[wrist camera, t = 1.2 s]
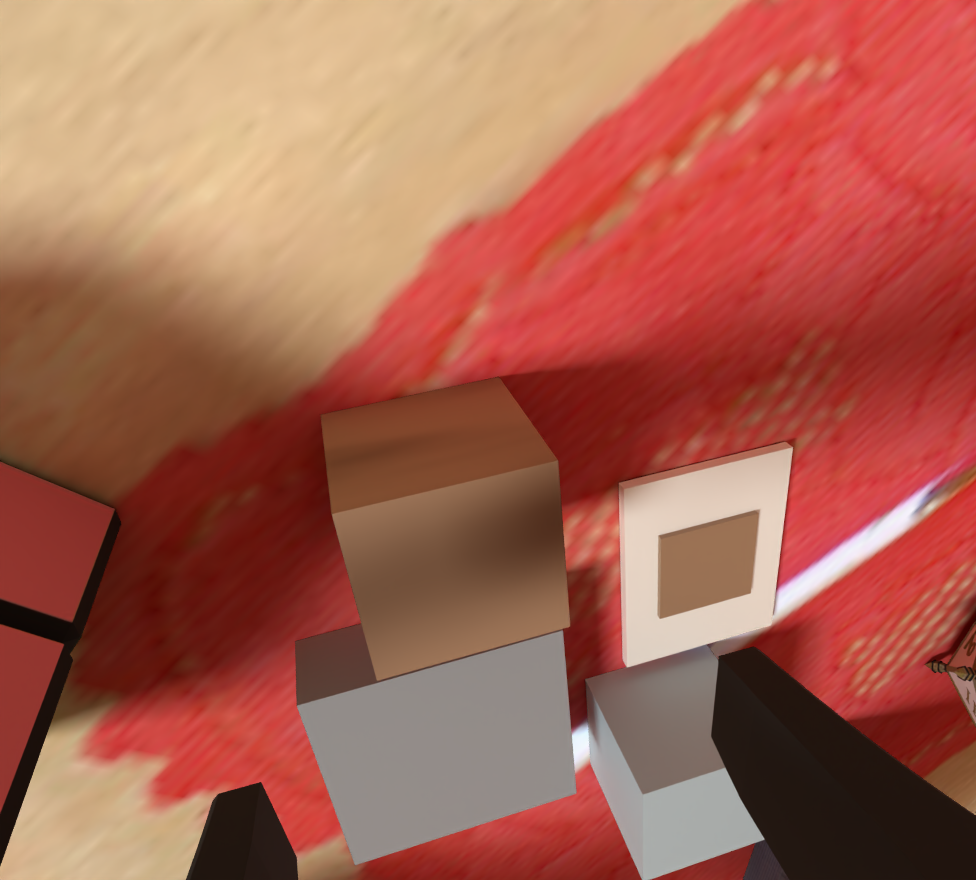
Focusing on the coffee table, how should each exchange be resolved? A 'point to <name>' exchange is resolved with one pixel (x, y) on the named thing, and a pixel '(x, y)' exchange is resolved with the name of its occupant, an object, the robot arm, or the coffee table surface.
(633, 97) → the coffee table surface
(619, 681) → the gray block
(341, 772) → the slate base
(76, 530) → the puzzle cube
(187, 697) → the coffee table surface
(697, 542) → the card
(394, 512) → the walnut block
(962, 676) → the game die
